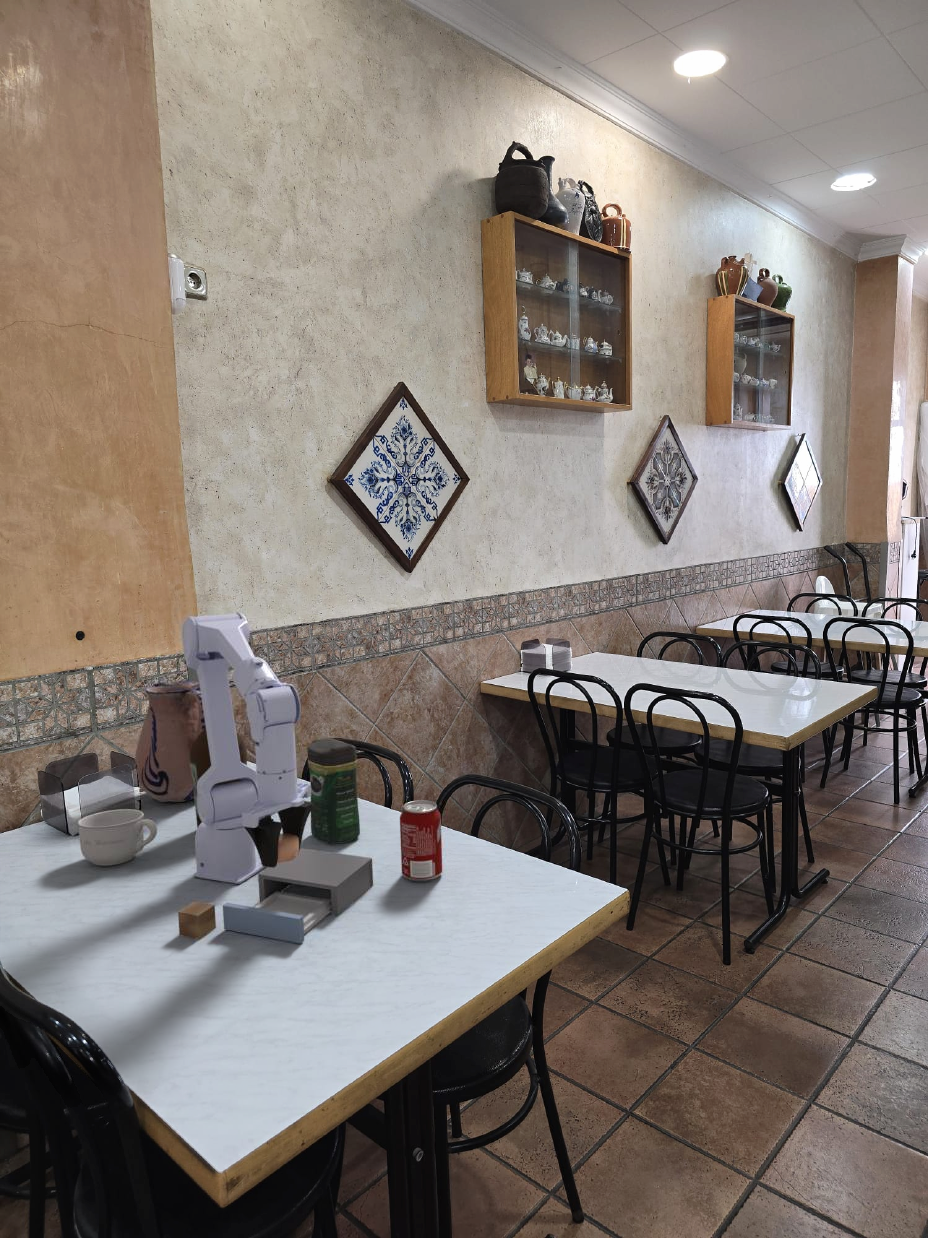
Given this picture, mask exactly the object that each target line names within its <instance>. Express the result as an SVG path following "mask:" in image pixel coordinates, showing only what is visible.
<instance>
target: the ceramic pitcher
mask: <svg viewBox="0 0 928 1238" xmlns="http://www.w3.org/2000/svg"><path fill="white" fill-rule="evenodd" d="M144 692H145V693H146V694H147V697H148V708H147V711H146V715H145V718H144V721H143V724H142V728H141V732H140V735H139V737H138V738H139V739H138V743H137V747H136V751H135V755H134V756H135V757H134V763H135V762H136V765H137V774H138V780H139V782H138V784H139V786H140V787H141V789H143V791H144V792H145V793H146V794H147V795H149V796H150V797H152V798H153V799H154V800H157V801H158V802H163V803H165V802H174V803H175V802H176V803H183V802H187V801H191V800H194V792H193V783H192V775H191V767H190V750H191V746H192V744H193V742H194V740H195V739H196V738H197V736H198V735H199V734H200V733H201V732H202V731H203V729H204V728H205V727H206V725H205V718H204V711H203V704H202V697H201V690H200V683H199V680H198V681H196V680H186V681H178V682H175V683H170V684H169V683H168V684H167V683H166V682H157V683H153V686H148V687H146V688H145V689H144ZM138 780H137V781H138Z"/></svg>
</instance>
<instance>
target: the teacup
mask: <svg viewBox="0 0 928 1238" xmlns="http://www.w3.org/2000/svg"><path fill="white" fill-rule="evenodd" d="M77 826H78V835H79V837H78V838H79V845H80V851H81V854H82V856H83V857H84V859H86V860H87V861H89V862H91V863H92V864H93V865H95V866H102V867H103V866H114V865H120V864H123V863H126V862H128V861H131V860H132V859H133V858H134V857H136V855H137V854H138V853H139V852H141V851H143V850H144V848H145V846H147V845H149V844H150V843H152V842H153V841H154V839H155V838H156V836H157V835H158V827H157V825H156V823H155V822H154V821H153V820H151V819H149V818H146V819H144V812H142V811H141V810H138V809H129V808H125V809H124V808H122V809H121V808H120V809H114V810H113V809H112V810H105V811H101V812H100V811H99V812H97V813H93V814H90V815H86V816H84V817H83V818H82V817H81V818H80V819H79V820H78V821H77ZM144 826H147V828H148V829H149V835H148V837H147V838H146V839H145V837H144V835H145V834H144V833H145V829H144Z"/></svg>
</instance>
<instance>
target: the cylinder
mask: <svg viewBox="0 0 928 1238" xmlns="http://www.w3.org/2000/svg"><path fill="white" fill-rule="evenodd" d="M298 856H299V838H298V836H296V835H293V834H283V833H280V836H279V842H278V861H277V863H282V862H288V861H291V860H294V859H295V858H297V857H298Z"/></svg>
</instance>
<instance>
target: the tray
mask: <svg viewBox="0 0 928 1238" xmlns="http://www.w3.org/2000/svg"><path fill="white" fill-rule="evenodd" d="M330 913H332V903H331V899H327V898H326V899H325V898H320V897H315V896H310V895H309V896H308V895H302V894H295V893H290V892H283V891H282V892H278V891H276V892H275V893H273V894H272V895H270V896H269V897H268V898H266V899H265V900H263V901H262V902H261V903H260V902H259V903H258V904H257V905H255V906H249V905H244V904H238V903H233V902H225V903H224V904H223V905H222V914H223V916H222V917H223V929H224V930H227V931H233V932H236V933H237V932H238V933H243V934H248V935H254V936H260V937H264V938H269V939H275V940H278V941H279V940H280V941H285V942H291V943H296V944H302V943H303V942H304V941H305V934H307V932H309V931H310V930H311V929H312V928H314V927H315V925H317V924H319V922H320V921H322V920H323V919H324V918H325V917H326V916H327V915H329V914H330Z"/></svg>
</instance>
